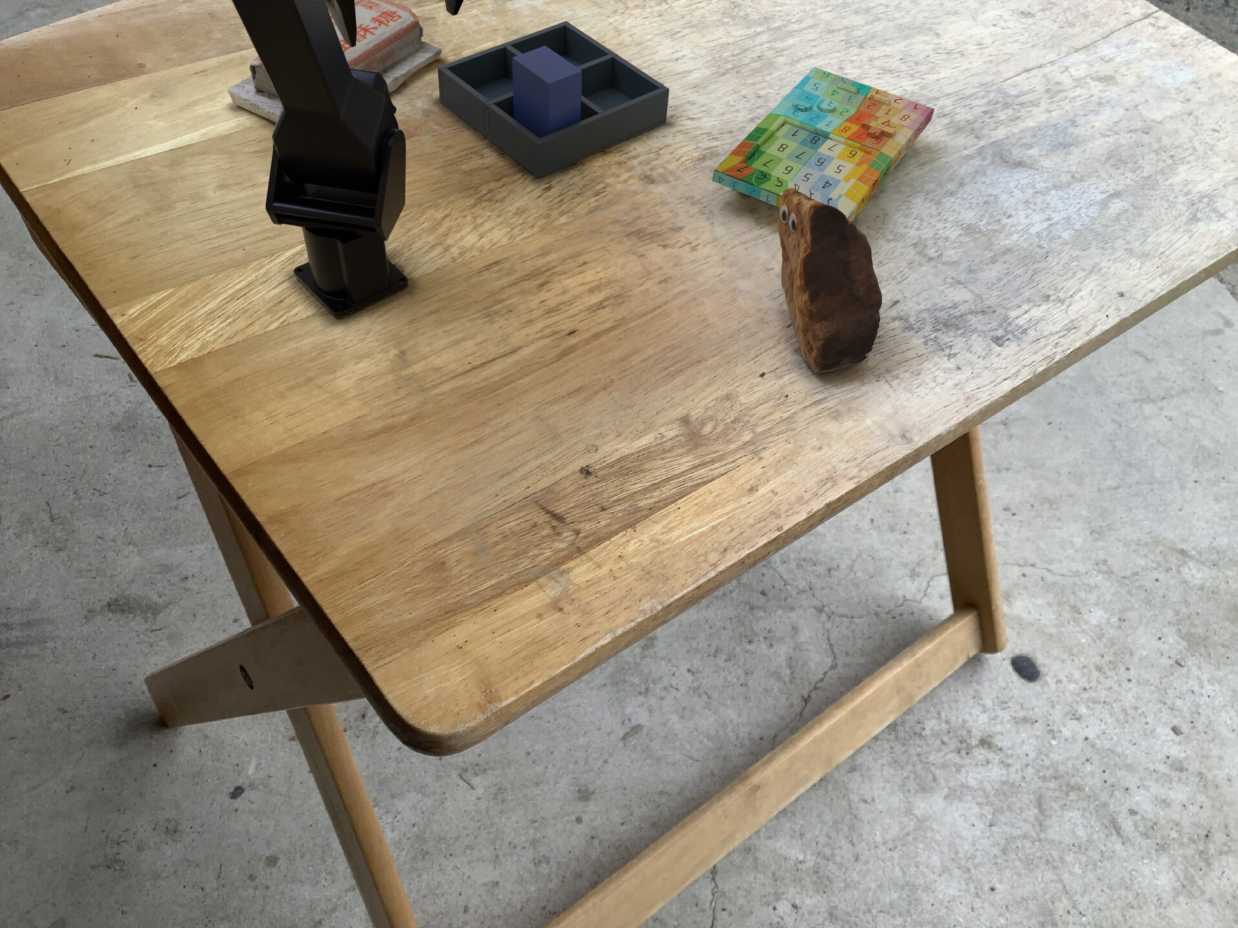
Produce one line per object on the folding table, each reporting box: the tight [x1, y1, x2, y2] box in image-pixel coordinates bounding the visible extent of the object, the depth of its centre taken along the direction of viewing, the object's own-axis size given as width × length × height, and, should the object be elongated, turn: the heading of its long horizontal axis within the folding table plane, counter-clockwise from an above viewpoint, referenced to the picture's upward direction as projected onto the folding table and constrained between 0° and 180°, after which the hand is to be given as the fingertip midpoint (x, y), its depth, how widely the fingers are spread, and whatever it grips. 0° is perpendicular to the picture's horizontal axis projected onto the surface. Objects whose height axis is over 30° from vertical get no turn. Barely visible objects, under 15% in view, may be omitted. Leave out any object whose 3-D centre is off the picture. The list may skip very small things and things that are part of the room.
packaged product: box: [227, 0, 443, 123], centre depth 100 cm, size 18×5×10 cm
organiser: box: [437, 20, 670, 180], centre depth 99 cm, size 15×15×4 cm
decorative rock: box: [777, 188, 883, 375], centre depth 79 cm, size 12×6×11 cm, turn 11°
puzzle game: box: [711, 66, 935, 222], centre depth 94 cm, size 12×5×20 cm
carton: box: [512, 46, 582, 138], centre depth 94 cm, size 5×4×7 cm
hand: (402, 28), depth 86 cm, fingers open, 9 cm apart
